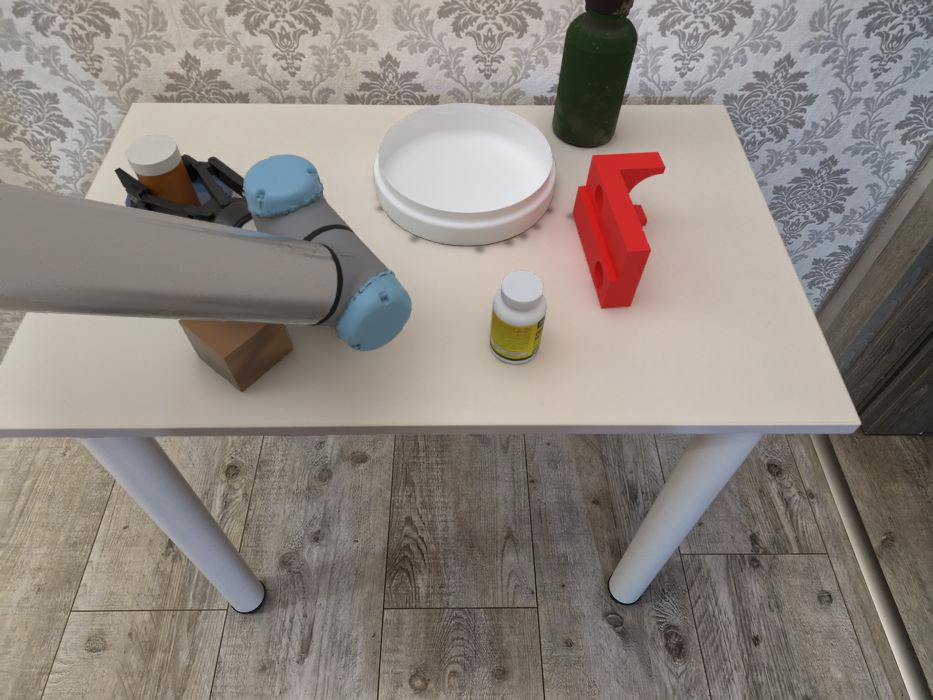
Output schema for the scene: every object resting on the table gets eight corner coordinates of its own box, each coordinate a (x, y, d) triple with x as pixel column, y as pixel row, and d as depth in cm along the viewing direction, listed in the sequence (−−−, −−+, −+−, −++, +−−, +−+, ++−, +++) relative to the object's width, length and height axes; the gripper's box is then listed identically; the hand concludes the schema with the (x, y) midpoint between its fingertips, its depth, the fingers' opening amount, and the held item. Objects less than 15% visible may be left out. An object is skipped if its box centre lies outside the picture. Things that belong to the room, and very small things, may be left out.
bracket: (585, 155, 82) (658, 151, 83) (572, 214, 90) (639, 210, 91) (619, 252, 72) (702, 246, 72) (601, 308, 80) (676, 302, 81)
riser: (241, 392, 71) (223, 358, 66) (198, 356, 74) (177, 320, 68) (293, 349, 75) (280, 313, 69) (250, 316, 78) (234, 279, 72)
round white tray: (556, 251, 86) (562, 221, 81) (364, 242, 86) (359, 212, 82) (549, 133, 102) (554, 103, 97) (386, 126, 102) (383, 95, 97)
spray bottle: (546, 141, 100) (570, -23, 80) (558, 106, 106) (583, -56, 86) (609, 154, 99) (650, -11, 78) (618, 117, 105) (658, -45, 84)
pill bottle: (540, 366, 74) (552, 308, 65) (489, 365, 74) (494, 307, 65) (537, 326, 78) (549, 265, 69) (488, 324, 78) (494, 264, 69)
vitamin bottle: (163, 235, 85) (129, 169, 76) (154, 207, 88) (121, 141, 79) (208, 221, 87) (180, 156, 78) (198, 195, 90) (171, 129, 81)
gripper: (201, 306, 75) (93, 222, 83) (316, 223, 84) (208, 154, 92) (179, 263, 69) (64, 177, 77) (305, 179, 77) (190, 109, 86)
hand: (142, 165), depth 84 cm, fingers closed on vitamin bottle, 6 cm apart
